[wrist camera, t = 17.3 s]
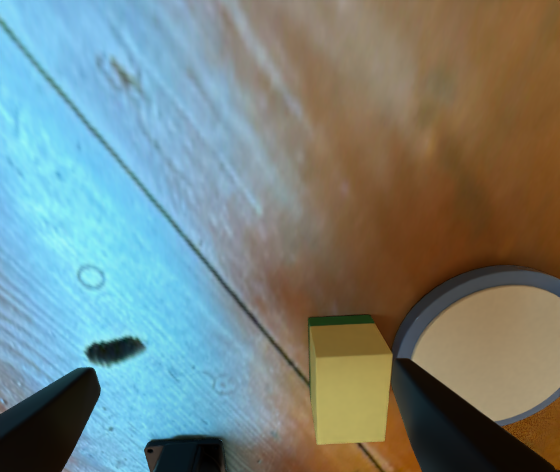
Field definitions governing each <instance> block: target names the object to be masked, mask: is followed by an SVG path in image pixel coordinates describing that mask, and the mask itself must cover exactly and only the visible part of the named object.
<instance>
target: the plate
mask: <svg viewBox="0 0 560 472" xmlns="http://www.w3.org/2000/svg"><path fill="white" fill-rule="evenodd" d="M392 354H393V357H392V368H393V361H394V359H396V358H409V359H411V360H412V361H413V362H415V363H416V364H417V365H419V366H420V367H421V368H423V369H424V370H426V371H427V372H428V373H430V374H431V375H432V376H434V377H435V378H436V379H438V380H439V381H440V382H442V383H443V384H444V385H446V386H447V387H448V388H450V389H451V390H452V391H454V392H455V393H456V394H458V395H459V396H460V397H462V398H463V399H464V400H466V401H467V402H468V403H470V404H471V405H472V406H474V407H475V408H476V409H478V410H479V411H480V412H482V413H483V414H484V415H486V416H487V417H488V418H490V419H491V420H493V421H494V422H495V423H497V424H498V425H499V426H505V425H508V424H512V423H514V422H517V421H520V420H522V419H525V418H527V417H529V416H531V415H533V414H535V413H537V412H538V411H540V410H542V409H544V408H545V407H547V406H548V405H549V404H551V403H552V402H554V401H555V400H556V399H557V398H558V397H560V279H558V278H556V277H554V276H552V275H549V274H547V273H545V272H542V271H540V270H537V269H533V268H530V267H524V266H517V265H499V266H489V267H484V268H480V269H475V270H472V271H469V272H466V273H463V274H460V275H458V276H456V277H454V278H452V279H449V280H447V281H446V282H444V283H442V284H441V285H439V286H437V287H436V288H434V289H433V290H432V291H430V292H429V293H428V294H426V295H425V296H424V297H423V298H422V299H421V300H420V301H419V302H418V303H417V304H416V305H415V306H414V307H413V308H412V309H411V311H410V312H409V313H408V314H407V316H406V317H405V319H404V320H403V322H402V323H401V325H400V327H399V329H398V331H397V333H396V336H395V339H394V342H393V346H392Z"/></svg>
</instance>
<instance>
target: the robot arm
mask: <svg viewBox="0 0 560 472" xmlns="http://www.w3.org/2000/svg"><path fill="white" fill-rule="evenodd" d="M391 385H392V389H393V392H394V395H395V398H396V401H397V404H398V407H399V410H400V413H401V416H402V419H403V423H404V426H405V429H406V432H407V435H408V438H409V440H410V443H411V446H412V449H413V451H414V453H415V456H416V458H417V461H418V463H419V465H420V467H421V470H422V472H560V470H555V468H554V466H553V465H551V464H550V463H549V462H547V461H546V460H545V459H543V458H542V457H541V456H539V455H538V454H537V453H535V452H534V451H533V450H531V449H530V448H529V447H527V446H526V445H525V444H523V443H522V442H521V441H519V440H518V439H517V438H515V437H514V436H513V435H511V434H510V433H509V432H507V431H506V430H505V429H503V428H502V427H501V426H499V425H498V424H497V423H495V422H494V421H493V420H491V419H490V418H488V417H487V416H486V415H484V414H483V413H482V412H480V411H479V410H478V409H476V408H475V407H474V406H472V405H471V404H470V403H468V402H467V401H466V400H464V399H463V398H462V397H460V396H459V395H458V394H456V393H455V392H454V391H452V390H451V389H450V388H448V387H447V386H446V385H444V384H443V383H442V382H440V381H439V380H438V379H436V378H435V377H434V376H432V375H431V374H430V373H428V372H427V371H426V370H424V369H423V368H421V367H420V366H419V365H417V364H416V363H415V362H413V361H412V360H411V359H409V358H396V359H394V361H393V368H392V376H391ZM100 391H101V388H100V384H99V381H98V378H97V375H96V371H95V369H93V368H91V367H84V368H77V369H75V370H73V371H72V372H70V373H68V374H67V375H65V376H63V377H62V378H60V379H58V380H57V381H55V382H53V383H52V384H50V385H48V386H47V387H45V388H43V389H42V390H40V391H38V392H37V393H35V394H33V395H32V396H30V397H28V398H27V399H25V400H23V401H22V402H20V403H18V404H17V405H15V406H13V407H12V408H10V409H8V410H7V411H5V412H3V413H2V414H0V472H62V470H63V468H64V466H65V465H66V463H67V461H68V459H69V457H70V456H71V454H72V452H73V450H74V448H75V446H76V444H77V442H78V440H79V438H80V436H81V434H82V431H83V429H84V427H85V425H86V423H87V421H88V419H89V417H90V415H91V413H92V411H93V409H94V407H95V405H96V403H97V400H98V398H99V396H100ZM144 452H145V455H146V459H147V462H148V466H149V469H150V472H227V467H226V461H225V455H224V448H223V443H222V441H221V440H219V439H202V440H179V441H157V442H149V443H147V445H146V447H145V449H144Z"/></svg>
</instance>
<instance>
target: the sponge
mask: <svg viewBox="0 0 560 472" xmlns="http://www.w3.org/2000/svg"><path fill="white" fill-rule="evenodd" d="M308 338H309V383H310V399H311V406H312V413H313V421H314V428H315V436H316V443H317V444H337V443H359V442H382V441H385V433H386V422H387V411H388V400H389V390H390V379H391V368H392V357H393V354H392V352H391V350H390V349H389V347H388V345H387V344H386V342H385V340H384V338H383V337H382V335H381V333H380V331H379V330H378V328H377V326H376V324H375V323H374V321H373V319H372V317H371V316H370V315H353V316H333V317H312V318H308Z"/></svg>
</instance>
